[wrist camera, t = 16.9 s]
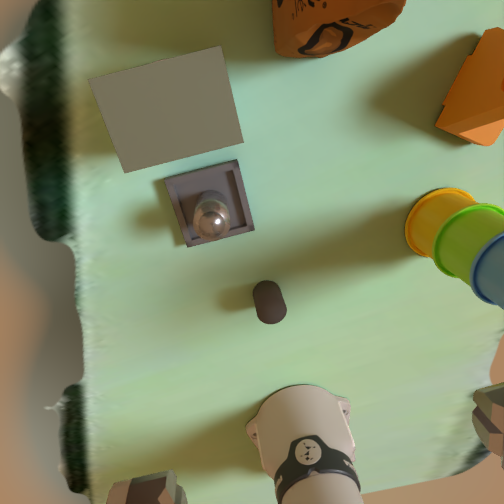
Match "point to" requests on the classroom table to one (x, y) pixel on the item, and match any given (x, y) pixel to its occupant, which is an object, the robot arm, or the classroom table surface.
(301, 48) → the coffee package
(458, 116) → the bracket
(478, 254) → the stacking cups
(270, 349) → the classroom table surface
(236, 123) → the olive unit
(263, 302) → the cylinder
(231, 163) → the tray
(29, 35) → the classroom table surface
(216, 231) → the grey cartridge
